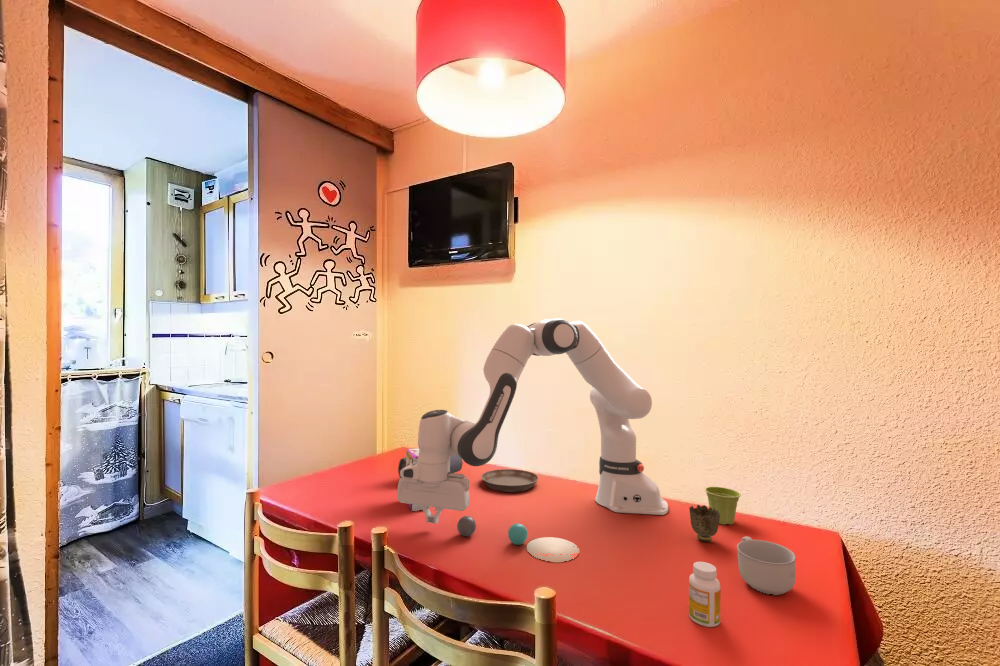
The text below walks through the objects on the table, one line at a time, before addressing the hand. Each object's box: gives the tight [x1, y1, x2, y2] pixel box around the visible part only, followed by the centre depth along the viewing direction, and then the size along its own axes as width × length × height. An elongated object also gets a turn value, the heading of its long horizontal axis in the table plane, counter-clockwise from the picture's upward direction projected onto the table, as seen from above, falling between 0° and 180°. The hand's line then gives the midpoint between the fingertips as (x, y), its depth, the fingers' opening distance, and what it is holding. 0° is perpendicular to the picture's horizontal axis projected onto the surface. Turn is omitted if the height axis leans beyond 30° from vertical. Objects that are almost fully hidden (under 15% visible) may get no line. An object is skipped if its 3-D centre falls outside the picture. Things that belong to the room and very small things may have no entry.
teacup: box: [736, 536, 797, 596], centre depth 96 cm, size 14×11×8 cm
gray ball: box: [456, 515, 477, 538], centre depth 116 cm, size 5×5×5 cm
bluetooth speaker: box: [397, 455, 464, 479], centre depth 163 cm, size 23×9×10 cm, turn 130°
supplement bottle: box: [688, 561, 722, 628], centre depth 83 cm, size 5×5×10 cm
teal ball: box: [507, 522, 529, 546], centre depth 112 cm, size 5×5×5 cm
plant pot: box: [704, 486, 741, 526], centre depth 130 cm, size 9×9×9 cm
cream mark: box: [526, 536, 580, 563], centre depth 109 cm, size 13×13×1 cm
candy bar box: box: [405, 447, 423, 512], centre depth 137 cm, size 11×5×16 cm, turn 22°
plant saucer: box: [480, 468, 539, 493], centre depth 159 cm, size 21×21×3 cm
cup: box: [688, 504, 720, 543], centre depth 117 cm, size 8×7×8 cm
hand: (432, 522), depth 119 cm, fingers closed
